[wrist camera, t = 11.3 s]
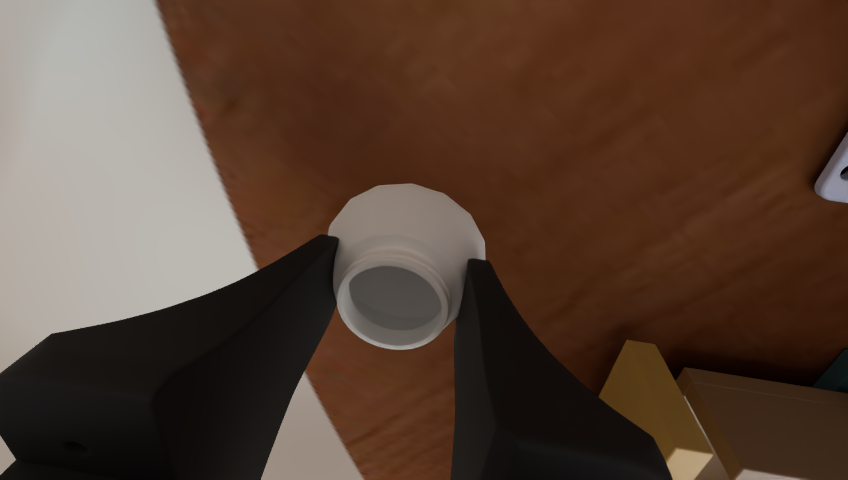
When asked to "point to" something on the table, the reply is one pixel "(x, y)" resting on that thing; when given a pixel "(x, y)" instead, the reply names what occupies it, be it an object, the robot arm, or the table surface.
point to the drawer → (730, 421)
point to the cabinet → (835, 375)
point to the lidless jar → (402, 263)
